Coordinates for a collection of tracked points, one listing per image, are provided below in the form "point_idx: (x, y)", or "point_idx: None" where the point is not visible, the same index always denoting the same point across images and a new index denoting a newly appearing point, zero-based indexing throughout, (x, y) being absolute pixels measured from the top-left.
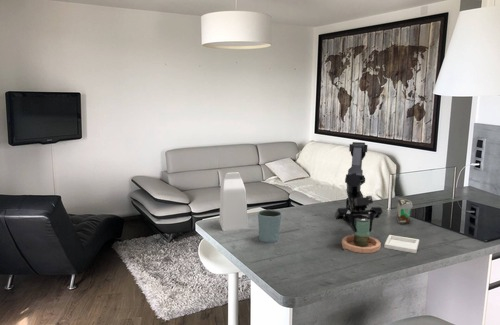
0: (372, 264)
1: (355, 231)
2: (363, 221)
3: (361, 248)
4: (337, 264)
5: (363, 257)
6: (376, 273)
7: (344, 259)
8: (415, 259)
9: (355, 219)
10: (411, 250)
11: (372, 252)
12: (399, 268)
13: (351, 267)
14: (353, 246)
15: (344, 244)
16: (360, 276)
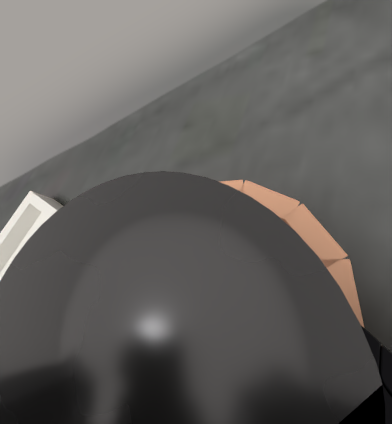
0: (224, 118)
1: None
2: (178, 178)
3: (247, 182)
4: (385, 96)
5: (242, 174)
6: (232, 62)
7: (341, 147)
8: (71, 171)
9: (352, 338)
10: (46, 200)
11: None
12: (148, 105)
13: (318, 83)
14: (290, 209)
15: (345, 260)
16: (294, 32)
